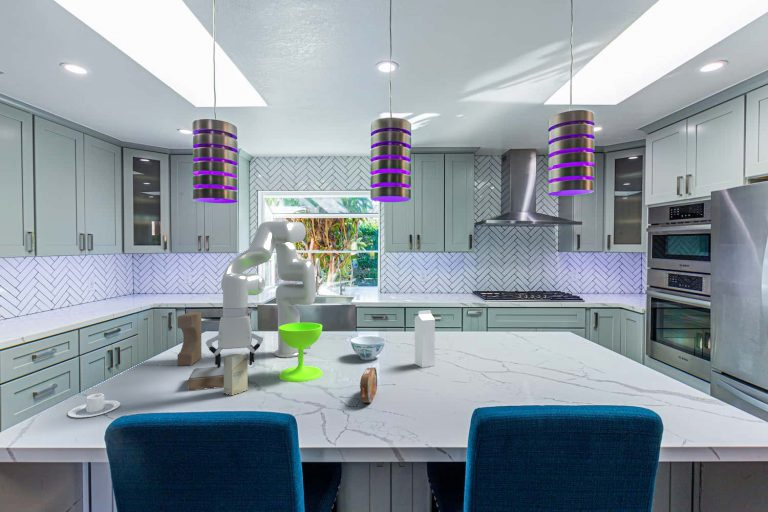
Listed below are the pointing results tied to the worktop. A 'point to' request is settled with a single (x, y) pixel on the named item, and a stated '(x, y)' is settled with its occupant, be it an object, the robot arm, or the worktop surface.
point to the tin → (368, 385)
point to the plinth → (206, 378)
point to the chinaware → (368, 346)
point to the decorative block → (190, 338)
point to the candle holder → (94, 405)
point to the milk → (424, 339)
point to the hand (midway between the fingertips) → (235, 365)
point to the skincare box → (235, 373)
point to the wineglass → (300, 349)
